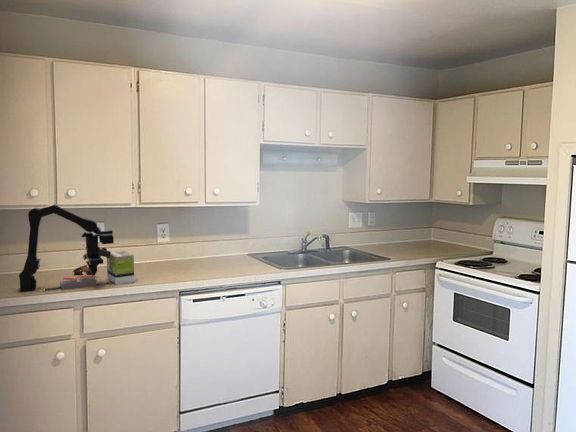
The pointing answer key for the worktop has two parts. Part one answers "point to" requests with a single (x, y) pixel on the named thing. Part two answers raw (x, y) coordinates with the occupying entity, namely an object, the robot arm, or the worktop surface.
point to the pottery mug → (83, 269)
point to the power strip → (75, 284)
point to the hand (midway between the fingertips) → (94, 275)
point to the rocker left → (69, 278)
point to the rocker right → (86, 276)
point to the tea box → (120, 267)
